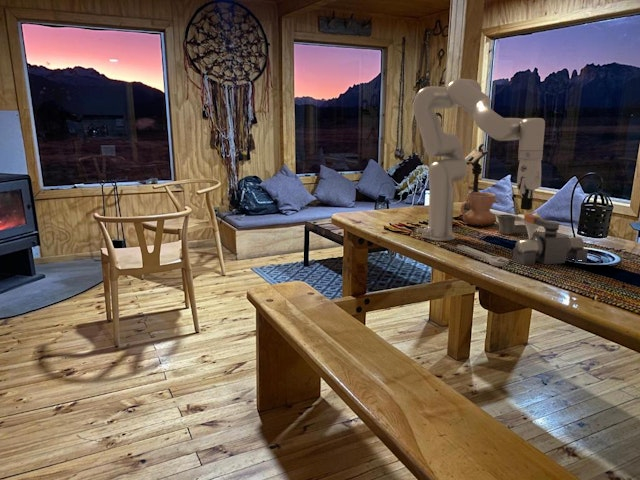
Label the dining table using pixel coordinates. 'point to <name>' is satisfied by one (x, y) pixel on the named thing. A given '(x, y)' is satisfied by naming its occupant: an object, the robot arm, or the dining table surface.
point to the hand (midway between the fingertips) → (526, 209)
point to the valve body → (549, 248)
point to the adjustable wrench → (485, 256)
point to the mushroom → (530, 225)
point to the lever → (541, 222)
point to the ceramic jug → (479, 209)
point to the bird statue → (475, 169)
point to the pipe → (510, 225)
